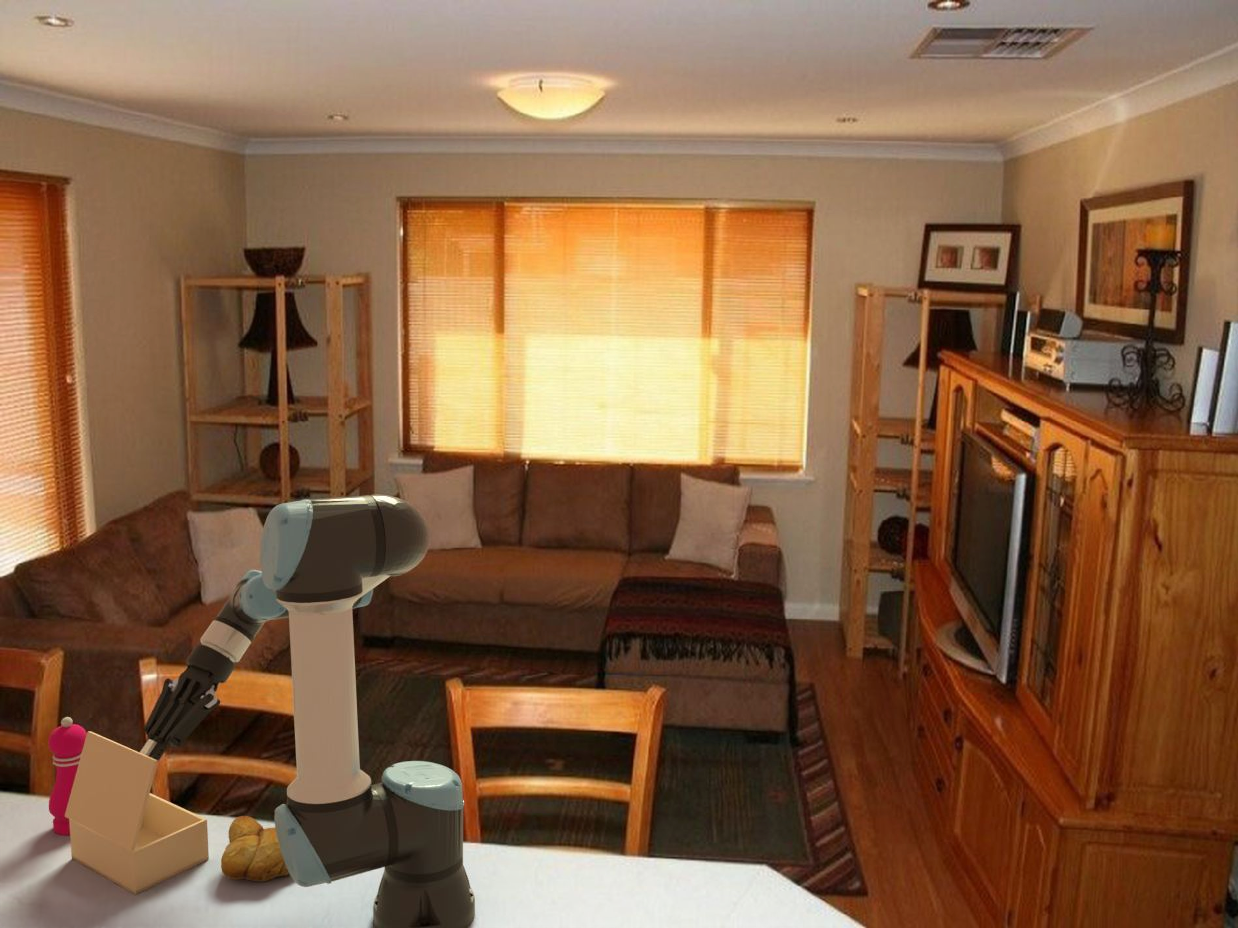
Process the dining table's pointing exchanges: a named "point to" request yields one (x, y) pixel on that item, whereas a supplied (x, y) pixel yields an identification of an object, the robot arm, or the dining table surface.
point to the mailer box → (145, 847)
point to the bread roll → (252, 852)
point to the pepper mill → (64, 769)
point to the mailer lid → (111, 790)
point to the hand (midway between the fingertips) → (133, 779)
